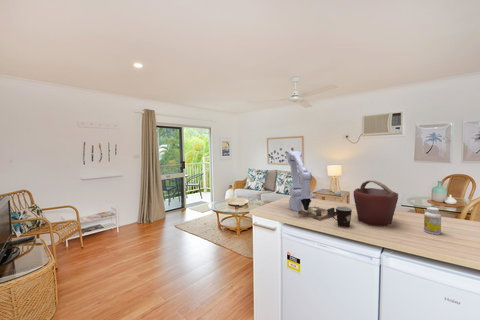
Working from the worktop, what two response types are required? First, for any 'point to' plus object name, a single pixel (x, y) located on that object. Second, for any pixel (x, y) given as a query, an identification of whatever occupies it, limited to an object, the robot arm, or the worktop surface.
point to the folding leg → (310, 210)
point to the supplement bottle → (432, 221)
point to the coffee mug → (343, 216)
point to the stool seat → (319, 213)
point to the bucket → (375, 204)
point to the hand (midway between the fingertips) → (305, 209)
